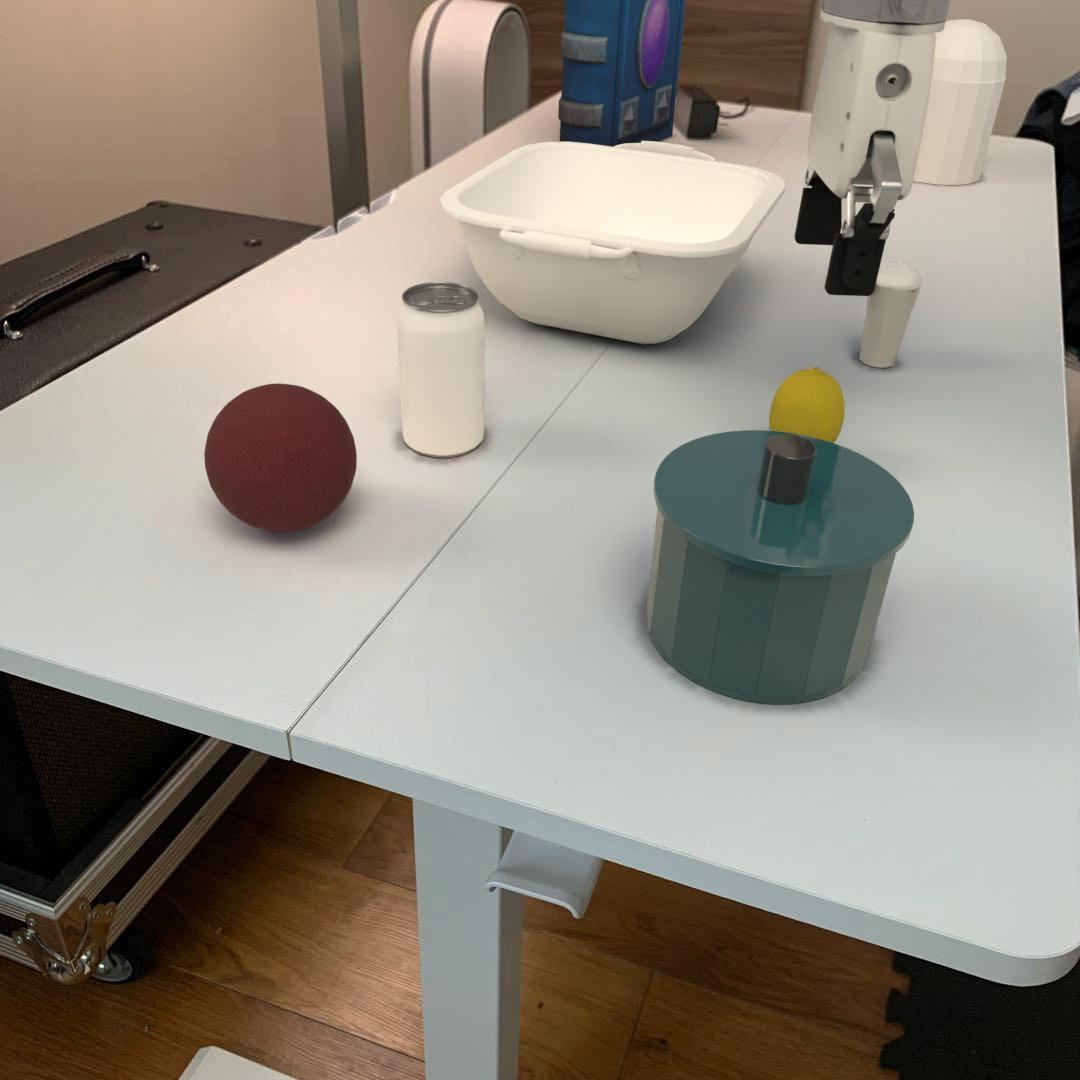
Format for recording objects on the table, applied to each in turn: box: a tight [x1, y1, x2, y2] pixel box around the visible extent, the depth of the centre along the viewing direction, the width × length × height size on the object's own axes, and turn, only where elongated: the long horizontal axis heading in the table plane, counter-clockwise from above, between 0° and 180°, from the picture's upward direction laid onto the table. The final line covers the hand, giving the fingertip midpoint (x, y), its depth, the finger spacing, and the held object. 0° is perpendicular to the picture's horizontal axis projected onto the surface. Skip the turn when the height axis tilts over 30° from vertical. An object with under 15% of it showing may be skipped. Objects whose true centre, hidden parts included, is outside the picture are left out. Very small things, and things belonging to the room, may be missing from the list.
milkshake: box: [858, 261, 923, 369], centre depth 97 cm, size 4×5×10 cm
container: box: [913, 18, 1008, 186], centre depth 148 cm, size 14×13×20 cm
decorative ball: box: [203, 383, 358, 533], centre depth 72 cm, size 10×10×10 cm
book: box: [557, 0, 686, 147], centre depth 150 cm, size 24×9×30 cm, turn 147°
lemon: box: [768, 366, 845, 444], centre depth 82 cm, size 6×6×8 cm
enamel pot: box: [646, 508, 897, 705], centre depth 64 cm, size 14×14×10 cm
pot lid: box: [652, 429, 915, 576], centre depth 60 cm, size 15×15×4 cm
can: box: [396, 281, 485, 459], centre depth 82 cm, size 6×6×12 cm
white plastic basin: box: [438, 141, 786, 345], centre depth 104 cm, size 34×28×13 cm
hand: (831, 267), depth 75 cm, fingers open, 9 cm apart
